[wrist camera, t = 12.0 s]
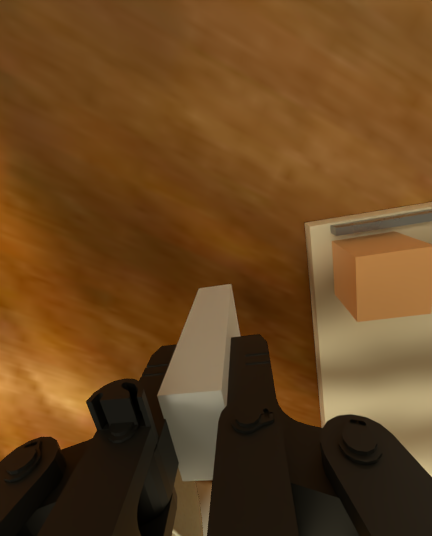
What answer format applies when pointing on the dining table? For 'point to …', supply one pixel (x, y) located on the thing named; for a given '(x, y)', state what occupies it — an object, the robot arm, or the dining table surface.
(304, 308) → the dining table surface
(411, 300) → the orange cube
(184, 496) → the flower pot
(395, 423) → the board
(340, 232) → the tongs base
